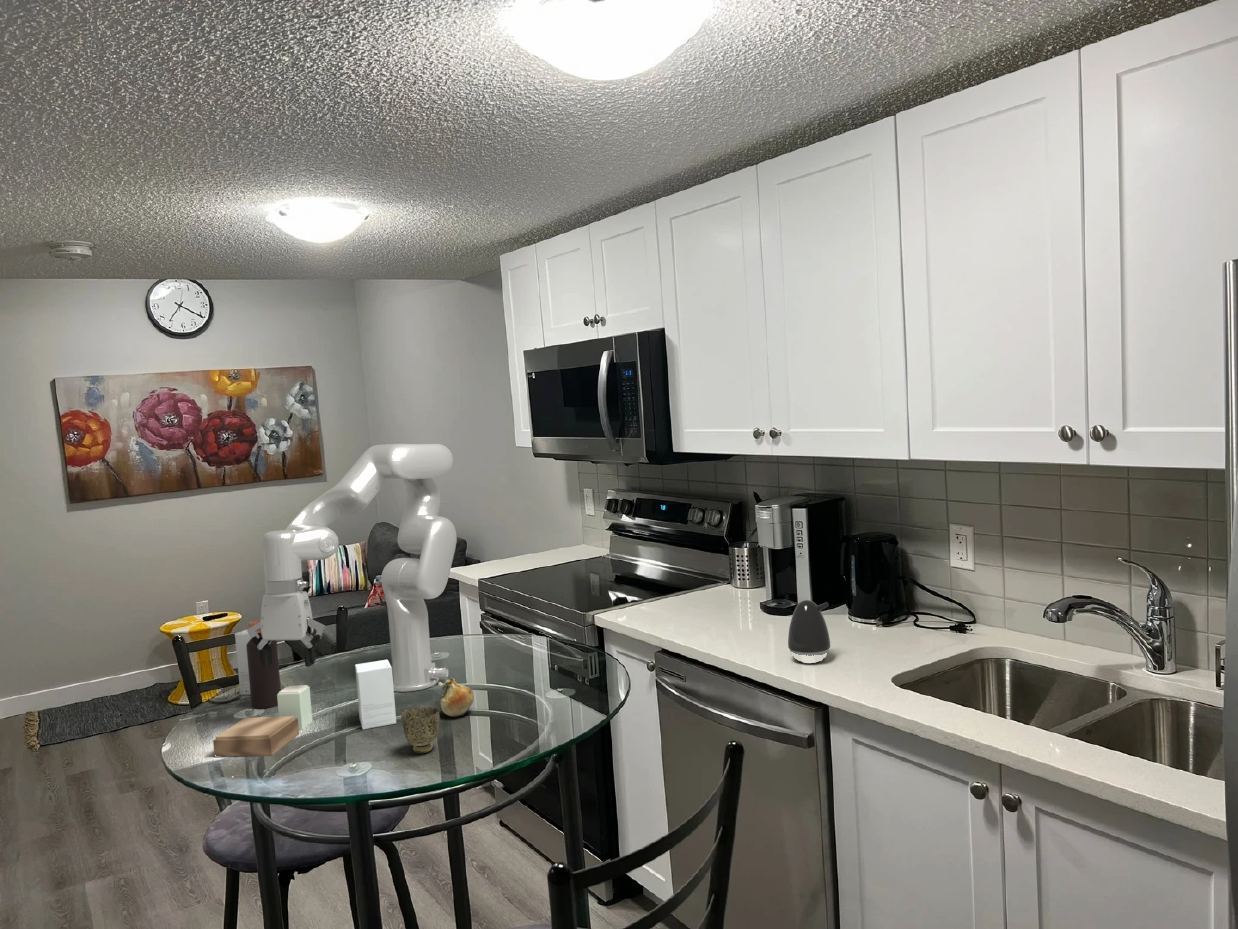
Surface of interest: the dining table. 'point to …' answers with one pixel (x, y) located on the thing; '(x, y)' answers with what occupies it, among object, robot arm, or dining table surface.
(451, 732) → the dining table surface
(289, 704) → the sage block
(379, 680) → the supplement box
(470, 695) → the onion
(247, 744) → the base block
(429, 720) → the cup
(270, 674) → the bottle
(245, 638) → the skincare box
